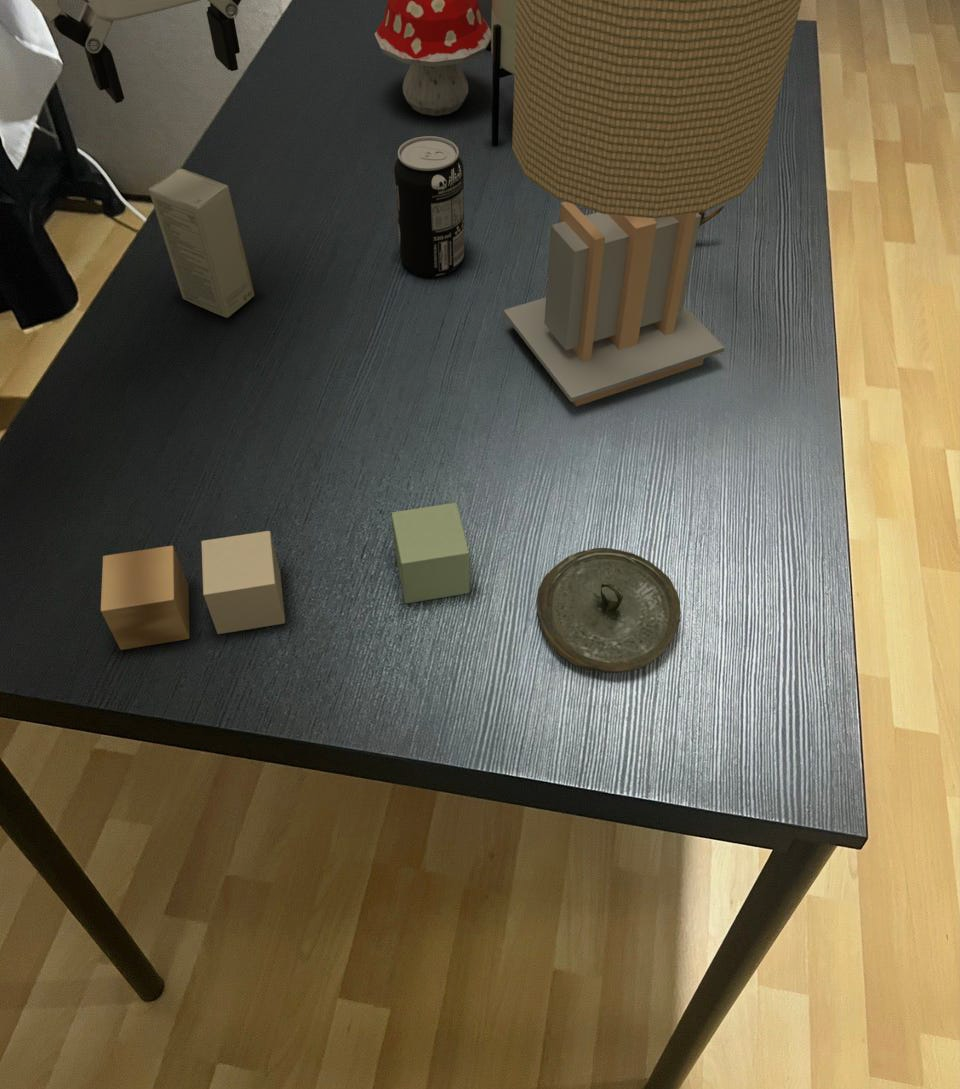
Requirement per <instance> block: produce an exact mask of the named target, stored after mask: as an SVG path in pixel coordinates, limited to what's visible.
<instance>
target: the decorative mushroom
mask: <svg viewBox="0 0 960 1089" xmlns="http://www.w3.org/2000/svg"><path fill="white" fill-rule="evenodd" d="M374 36H375V39H376V41H377V43H378V45H379V48H380V50H381V52H382V54H384V55H386V56H388V57H390V58H392V59H394V60H395V61H398V62H400V63H403V64H407V65H409V66H408V70H407V72H406V74H405V75H404V78H403V81H402V82H403V83H402V93H403V96H404V98H405V100H406V101H407V103H408V105H409V106H410V108H412V110H414V111H416V112H417V113H420V114H422V115H427V116H433V117H434V116H435V117H438V116H443V115H444V116H445V115H450V114H452V113H453V112H456V111H457V110H459V109H460V108H461V106H462V105H463V103H464V102H465V100H466V98H467V96H468V94H469V83H468V80H467V77H466V75H465V74H464V71H463V69H462V67H461V65H460V64H464V63H466V62H468V61H469V60H472V59H474V58H477V57H478V56H480V55H483V54H484V53H485V52H486V50H487V49H488V48H487V46H488V44H489V42H490V40H491V30H490V28H489V27H488V25H487V23H486V22H485V20H484V19H483V18H482V14H481V11H480V7H479V4H478V1H477V0H387V2H386V8H385V12H384V16H383V20H382V21H381V23H380V25H379V26H378V28H377V29H376V31H375V32H374Z"/></svg>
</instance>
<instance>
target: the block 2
mask: <svg viewBox="0 0 960 1089" xmlns="http://www.w3.org/2000/svg"><path fill="white" fill-rule="evenodd" d="M200 543H201V568H202V571H201V572H202V591H203V592H202V593H203V594H202V596H203V598H204V601H205V603H206V606H207V609H208V612H209V615H210V617H211V620H212V622H213V626H214V628H215V631H216V634H217V635H222V634H228V633H236V632H240V631H246V630H253V629H260V628H265V627H271V626H277V625H278V626H279V625H283V624H286V616H285V608H284V606H285V604H284V596H283V586H282V584H283V583H282V577H281V576H282V574H281V568H280V565H279V561H278V558H277V556H278V555H277V553H276V549H275V545H274V541H273V537H272V533H271V530H265V531H258V532H251V533H245V534H239V535H238V534H237V535H232V536H225V537H218V538H212V539H205V540H201V542H200Z"/></svg>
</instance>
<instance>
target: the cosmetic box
mask: <svg viewBox="0 0 960 1089" xmlns="http://www.w3.org/2000/svg"><path fill="white" fill-rule="evenodd" d="M148 192H149V195H150V199H151V202H152V204H153V208H154V212H155V215H156V218H157V221H158V224H159V227H160V231H161V233H162V237H163V240H164V243H165V244H164V245H165V247H166V250H167V253H168V256H169V259H170V262H171V265H172V269H173V273H174V275H175V276H174V277H175V278H176V282H177V285H178V288H179V291H180V295H181V298H182V299H183V300H185V301H187V302H189V303H190V304H193V305H195V306H197V307H200V308H202V309H204V310H207V311H209V312H211V313H213V314H215V315H218V316H221V317H223V318H225V319H228V318H229V317H231V316H232V315H233V314H235V313H236V312H238V310H239V309H241V308H242V307H243V306H244V305H246V304H247V303H248V302H249V301H250V300H251V299H252V298H254V297H255V292H254V287H253V283H252V278H251V274H250V271H249V265H248V261H247V258H246V253H245V250H244V246H243V242H242V238H241V233H240V228H239V224H238V220H237V217H236V212H235V209H234V205H233V200H232V196H231V192H230V188H229V185H228V184H225V183H222V182H219V181H217V180H215V179H211V178H209V177H206V176H204V175H201V174H198V173H196V172H192V171H189V170H187V169H184V168H178V169H177V170H175V171H174V172H172V173H170V174H169V175H167V176H165V177H164V178H163V179H161V180H160V181H158V182H157V183H155V184H153V185H152V186H150V187H149V188H148Z"/></svg>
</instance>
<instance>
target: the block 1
mask: <svg viewBox="0 0 960 1089" xmlns="http://www.w3.org/2000/svg"><path fill="white" fill-rule="evenodd" d="M101 570H102V571H101V591H100V592H101V594H100V595H101V596H100V613H101V614H102V616H103V618H104V620H105V623H106V624H107V626H108V628H109V630H110V632H111V635H113V638H114V640H115V642H116V644H117V646H118V647H119V650H120V651H123V650H130V649H137V648H142V647H148V646H154V645H161V644H166V643H172V642H178V641H185V640H189V639H191V638H190V637H191V636H190V635H191V634H190V631H191V630H190V597H189V596H190V595H189V591H190V590H189V584H188V581H187V579H186V575H185V573H184V571H183V568H182V565H181V562H180V560H179V557H178V554H177V552H176V549H175V546H174V545H166V546H160V547H153V548H147V549H146V548H145V549H141V550H139V549H138V550H134V551H133V550H132V551H126V552H119V553H113V554H105V555H102V569H101Z"/></svg>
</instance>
